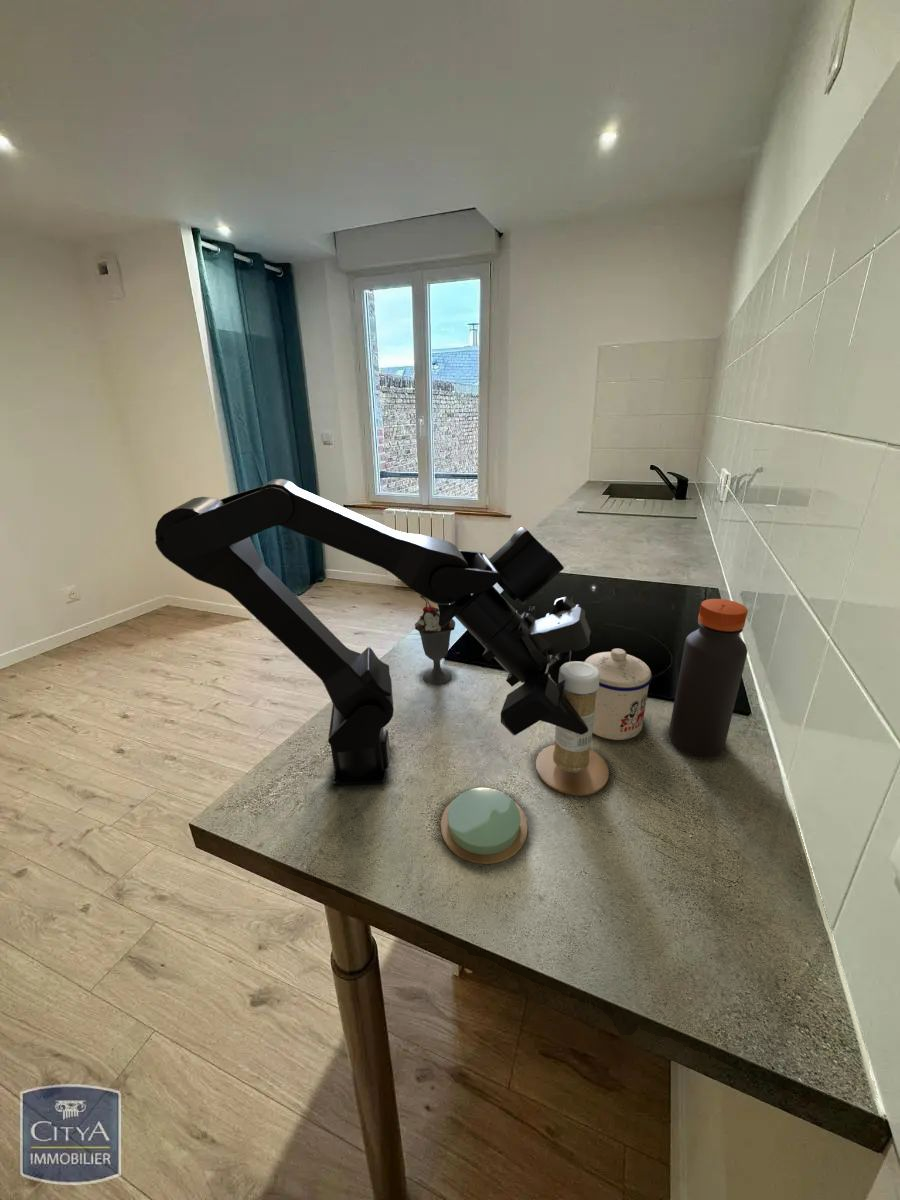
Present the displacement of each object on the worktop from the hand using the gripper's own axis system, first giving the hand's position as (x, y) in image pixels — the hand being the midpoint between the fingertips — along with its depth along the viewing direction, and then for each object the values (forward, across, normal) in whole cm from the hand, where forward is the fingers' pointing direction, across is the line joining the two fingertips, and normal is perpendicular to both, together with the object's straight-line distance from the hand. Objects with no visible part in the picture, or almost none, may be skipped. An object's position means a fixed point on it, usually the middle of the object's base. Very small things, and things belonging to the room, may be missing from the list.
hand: (586, 720), depth 57 cm
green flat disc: (-2, -12, +12) cm, 17 cm away
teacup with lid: (+8, +13, +3) cm, 15 cm away
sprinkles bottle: (+4, 0, +6) cm, 7 cm away
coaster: (+5, 0, +6) cm, 8 cm away
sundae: (-12, +16, +23) cm, 31 cm away
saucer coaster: (-1, -12, +12) cm, 17 cm away
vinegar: (+16, +10, -5) cm, 19 cm away
